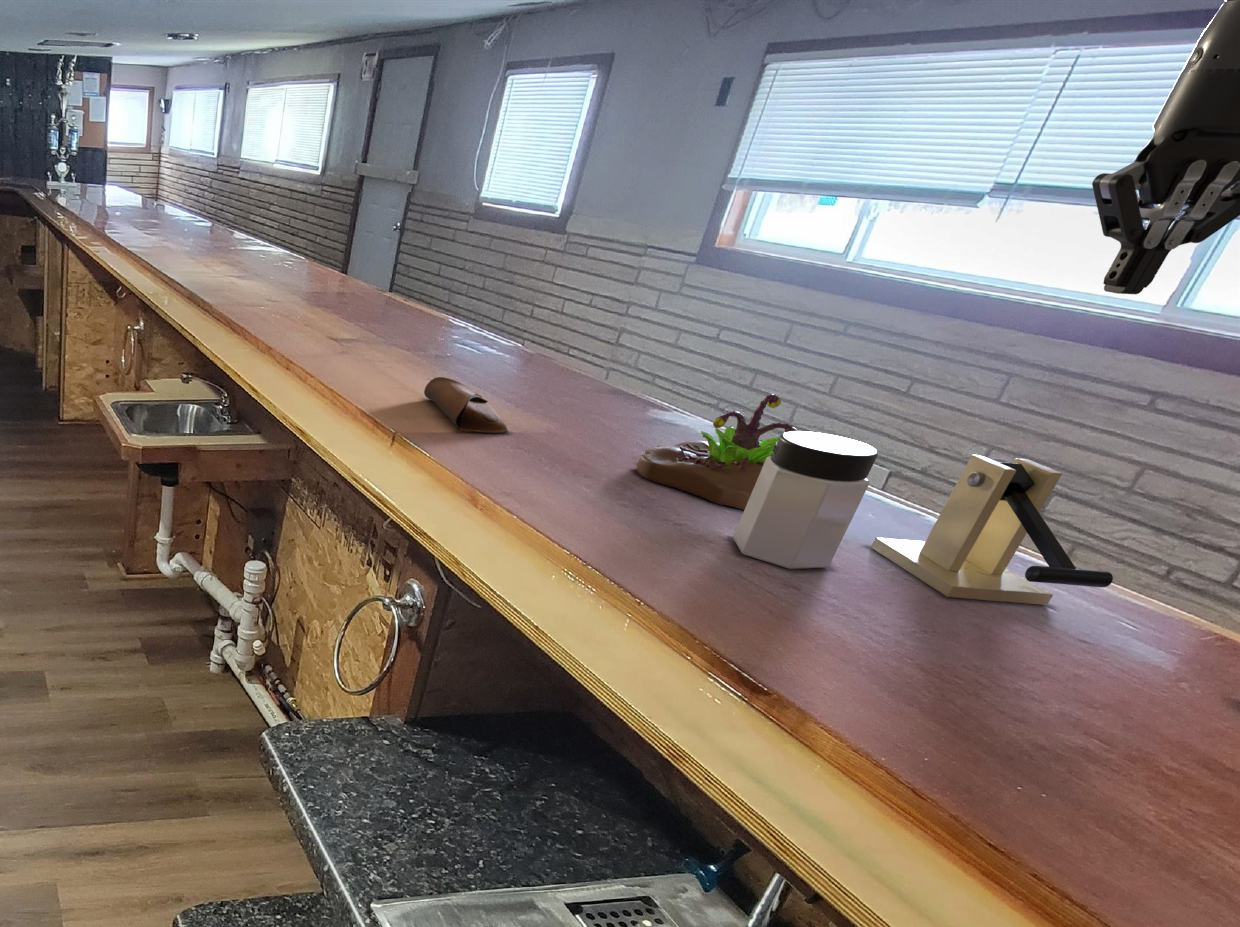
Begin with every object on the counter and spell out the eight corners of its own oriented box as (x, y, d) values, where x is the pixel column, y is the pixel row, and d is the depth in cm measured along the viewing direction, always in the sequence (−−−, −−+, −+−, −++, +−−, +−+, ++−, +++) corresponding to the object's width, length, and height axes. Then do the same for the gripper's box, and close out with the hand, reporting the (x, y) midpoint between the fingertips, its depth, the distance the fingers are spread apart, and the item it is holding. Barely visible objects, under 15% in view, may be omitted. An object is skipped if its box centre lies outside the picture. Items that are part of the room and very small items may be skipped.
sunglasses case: (514, 431, 129) (500, 389, 126) (465, 453, 130) (451, 413, 128) (474, 398, 144) (461, 361, 141) (432, 418, 146) (418, 382, 143)
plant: (860, 500, 110) (904, 410, 104) (764, 522, 102) (806, 426, 97) (705, 452, 125) (736, 371, 120) (611, 467, 118) (640, 381, 112)
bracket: (1047, 605, 86) (1121, 489, 80) (947, 597, 87) (1013, 481, 81) (958, 554, 96) (1018, 448, 90) (870, 547, 97) (924, 441, 91)
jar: (783, 536, 99) (832, 430, 93) (847, 568, 92) (904, 455, 86) (712, 538, 97) (756, 430, 91) (771, 571, 90) (824, 456, 84)
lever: (1097, 594, 80) (1121, 577, 78) (1024, 588, 80) (1047, 571, 78) (1022, 483, 88) (1042, 464, 86) (957, 478, 88) (976, 460, 86)
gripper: (1204, 61, 70) (1075, 295, 78) (1391, 67, 69) (1240, 304, 77) (1121, 67, 76) (1011, 282, 85) (1291, 73, 75) (1162, 290, 84)
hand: (1120, 292), depth 81 cm, fingers closed
